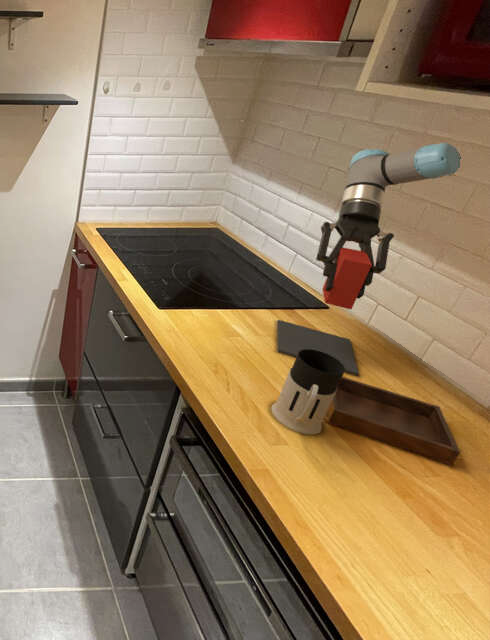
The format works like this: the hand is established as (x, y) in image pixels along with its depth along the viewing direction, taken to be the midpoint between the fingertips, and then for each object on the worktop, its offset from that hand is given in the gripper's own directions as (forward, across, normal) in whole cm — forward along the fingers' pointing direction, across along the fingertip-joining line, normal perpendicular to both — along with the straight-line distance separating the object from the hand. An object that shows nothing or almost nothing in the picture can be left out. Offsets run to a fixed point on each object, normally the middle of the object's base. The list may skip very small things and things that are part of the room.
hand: (343, 292), depth 105 cm
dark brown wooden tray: (+26, -10, 0) cm, 28 cm away
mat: (+10, 0, -16) cm, 19 cm away
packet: (0, 0, -5) cm, 5 cm away
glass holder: (+35, +5, +8) cm, 36 cm away
